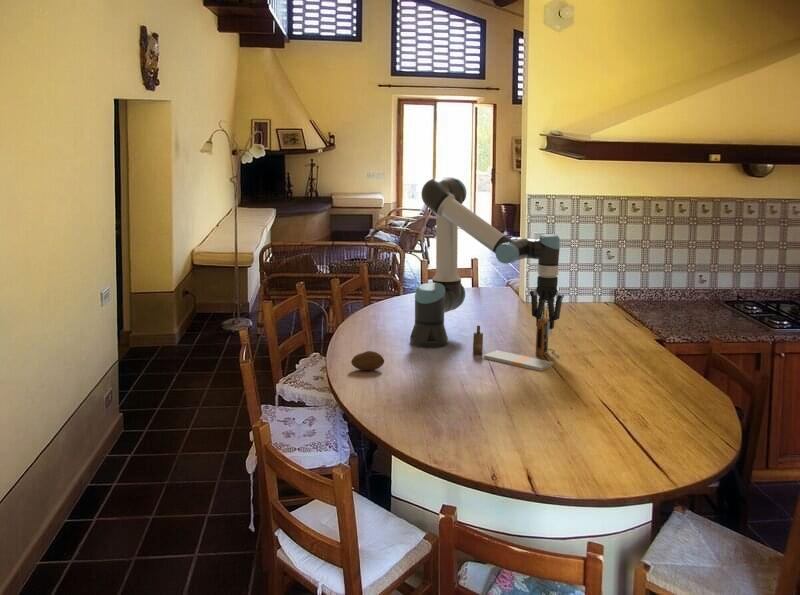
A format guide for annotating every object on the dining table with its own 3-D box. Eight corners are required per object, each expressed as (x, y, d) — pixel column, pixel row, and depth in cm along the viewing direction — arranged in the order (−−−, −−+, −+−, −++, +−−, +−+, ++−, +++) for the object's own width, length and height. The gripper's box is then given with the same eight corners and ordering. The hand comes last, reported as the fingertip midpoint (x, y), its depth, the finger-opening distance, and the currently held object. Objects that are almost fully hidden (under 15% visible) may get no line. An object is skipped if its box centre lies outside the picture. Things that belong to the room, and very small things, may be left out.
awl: (471, 353, 295) (471, 325, 292) (476, 351, 297) (477, 324, 295) (478, 355, 292) (480, 327, 290) (484, 353, 295) (485, 325, 293)
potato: (350, 368, 275) (350, 349, 274) (381, 366, 277) (382, 347, 276) (352, 373, 269) (352, 354, 267) (385, 372, 271) (385, 353, 269)
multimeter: (558, 361, 286) (561, 309, 281) (532, 358, 290) (534, 306, 286) (568, 351, 298) (571, 301, 294) (543, 348, 303) (546, 298, 298)
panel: (483, 358, 289) (483, 355, 289) (496, 353, 296) (496, 350, 296) (541, 371, 275) (541, 367, 274) (553, 365, 282) (553, 362, 281)
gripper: (523, 274, 293) (521, 334, 298) (562, 279, 283) (559, 341, 288) (533, 271, 299) (530, 330, 304) (571, 277, 289) (568, 337, 294)
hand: (544, 335), depth 296 cm, fingers closed on multimeter, 3 cm apart
